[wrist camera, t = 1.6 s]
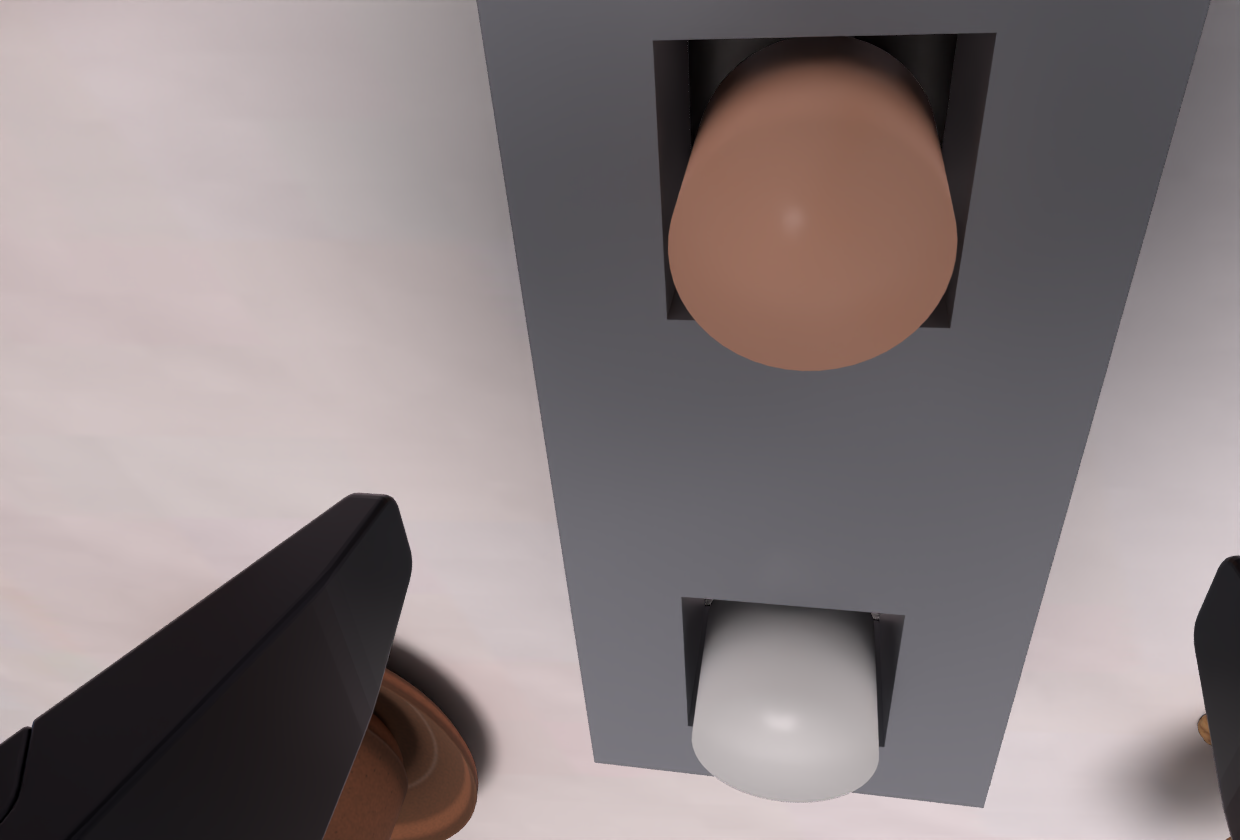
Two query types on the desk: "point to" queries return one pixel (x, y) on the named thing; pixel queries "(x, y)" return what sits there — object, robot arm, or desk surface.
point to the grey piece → (787, 700)
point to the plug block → (837, 398)
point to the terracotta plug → (814, 207)
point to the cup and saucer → (406, 773)
